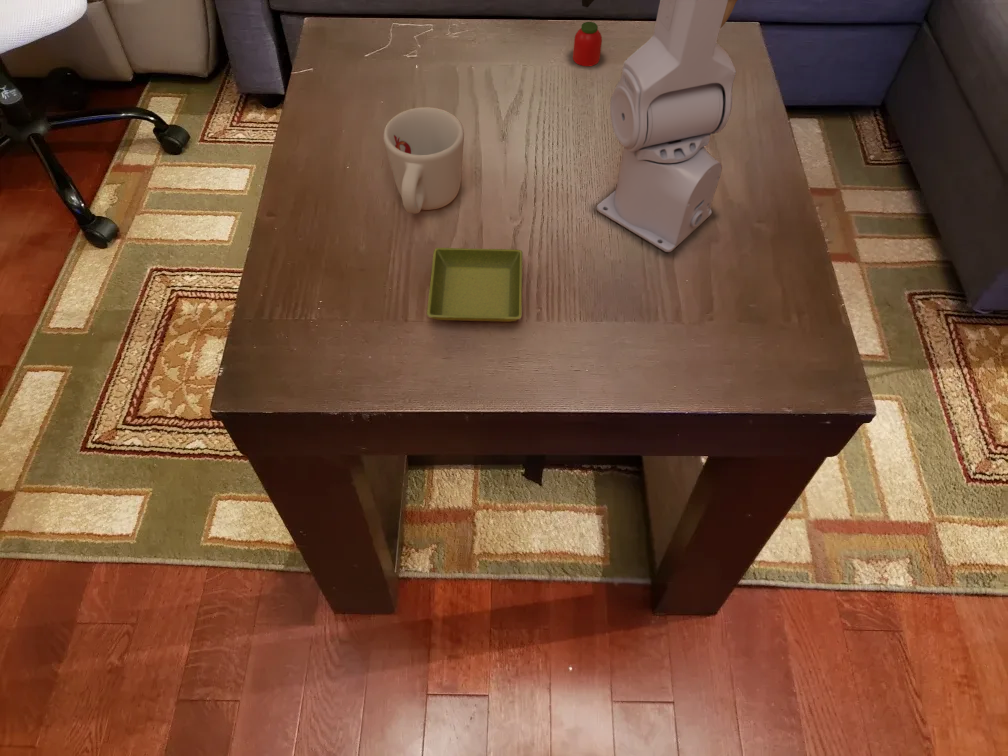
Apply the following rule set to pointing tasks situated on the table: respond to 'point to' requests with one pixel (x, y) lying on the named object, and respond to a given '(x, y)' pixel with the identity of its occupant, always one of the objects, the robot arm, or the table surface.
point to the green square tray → (476, 284)
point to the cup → (425, 156)
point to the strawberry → (587, 45)
